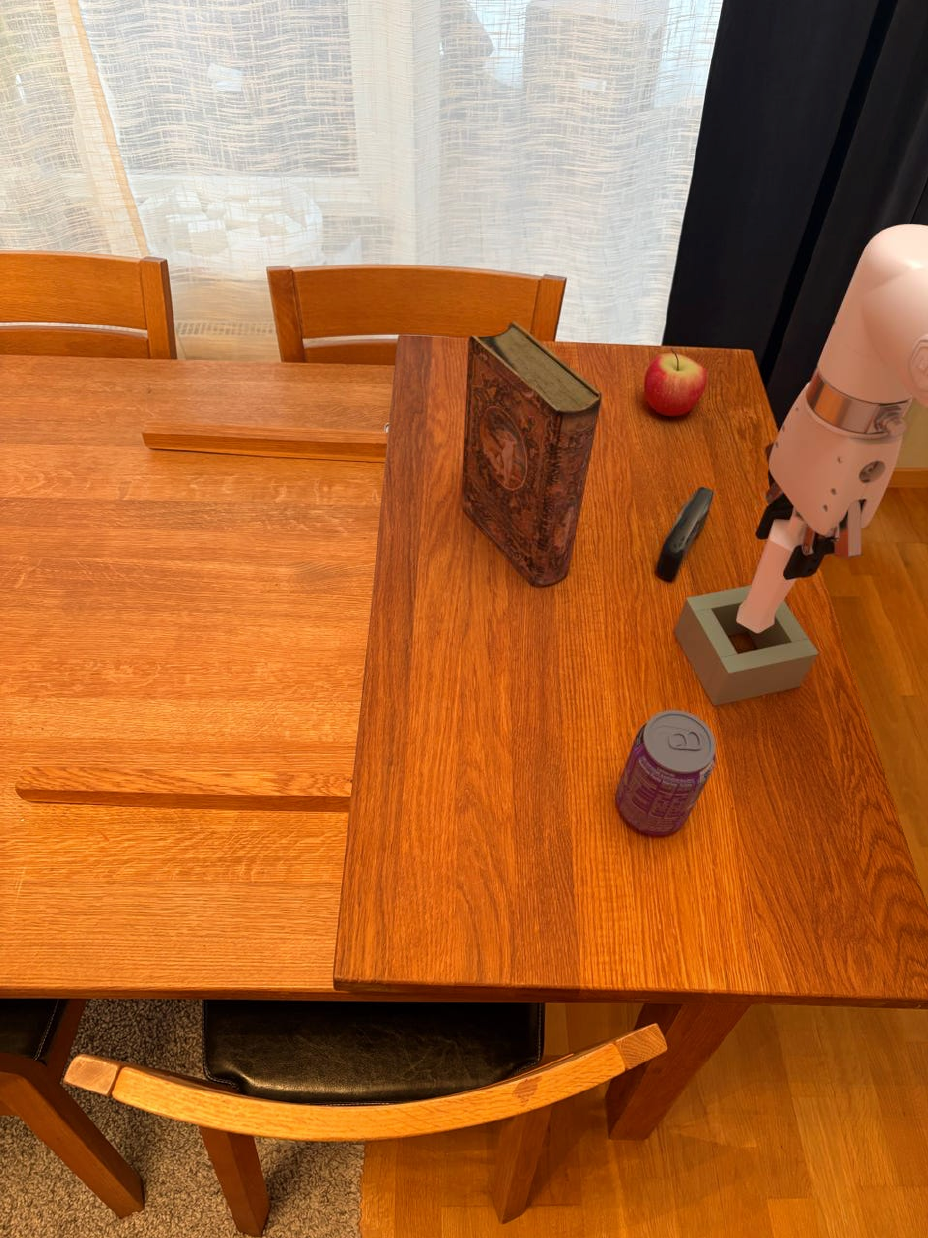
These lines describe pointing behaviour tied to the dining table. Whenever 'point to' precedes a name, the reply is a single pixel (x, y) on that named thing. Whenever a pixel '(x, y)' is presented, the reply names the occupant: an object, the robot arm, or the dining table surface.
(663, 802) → the beverage can
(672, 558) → the mobile phone
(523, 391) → the book
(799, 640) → the holder
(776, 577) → the perfume bottle
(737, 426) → the dining table surface
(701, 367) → the apple
